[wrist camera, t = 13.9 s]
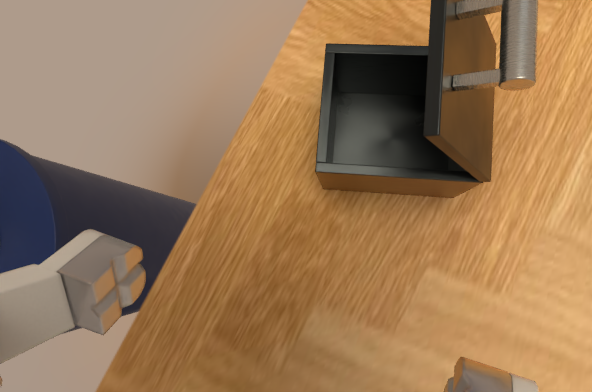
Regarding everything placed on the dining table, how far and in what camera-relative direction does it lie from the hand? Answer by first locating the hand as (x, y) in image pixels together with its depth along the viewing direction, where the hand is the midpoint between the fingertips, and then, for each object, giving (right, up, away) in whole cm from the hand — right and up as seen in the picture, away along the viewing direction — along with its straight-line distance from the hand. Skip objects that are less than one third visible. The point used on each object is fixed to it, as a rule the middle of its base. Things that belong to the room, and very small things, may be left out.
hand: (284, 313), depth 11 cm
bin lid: (+11, +10, +17) cm, 22 cm away
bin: (+10, +8, +33) cm, 35 cm away
